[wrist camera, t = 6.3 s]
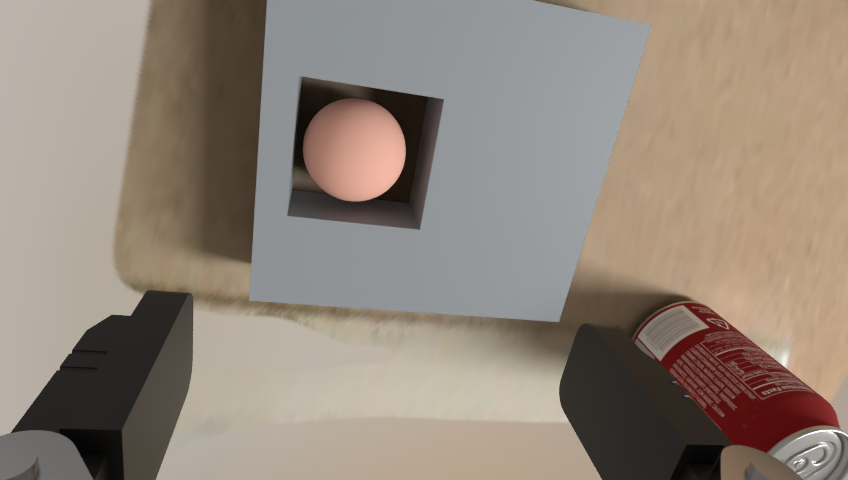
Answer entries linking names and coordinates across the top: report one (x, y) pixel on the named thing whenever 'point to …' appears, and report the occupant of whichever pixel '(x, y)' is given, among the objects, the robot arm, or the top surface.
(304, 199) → the grey block with recess
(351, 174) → the ball
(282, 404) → the top surface
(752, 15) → the top surface
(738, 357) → the soda can
